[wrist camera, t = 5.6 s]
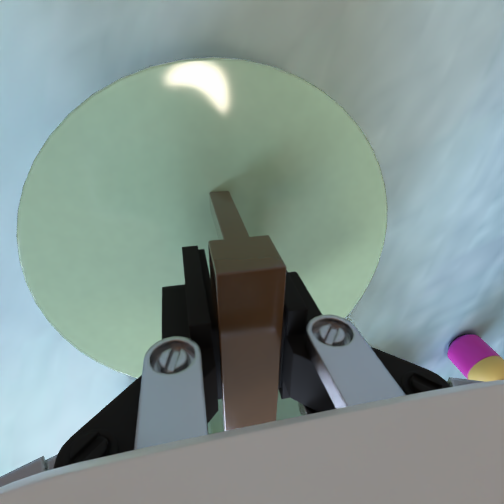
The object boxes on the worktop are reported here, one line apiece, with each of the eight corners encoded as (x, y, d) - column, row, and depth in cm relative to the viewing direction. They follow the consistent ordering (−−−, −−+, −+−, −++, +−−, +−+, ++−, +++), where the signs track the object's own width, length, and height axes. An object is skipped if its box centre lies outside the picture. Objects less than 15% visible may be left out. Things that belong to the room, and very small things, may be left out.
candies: (329, 412, 29) (363, 490, 24) (352, 340, 25) (399, 415, 20) (505, 389, 33) (566, 452, 28) (548, 324, 29) (628, 384, 24)
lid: (80, 387, 16) (38, 556, 11) (-40, 55, 10) (-306, 64, 4) (347, 343, 19) (422, 463, 14) (404, 57, 12) (601, 64, 7)
